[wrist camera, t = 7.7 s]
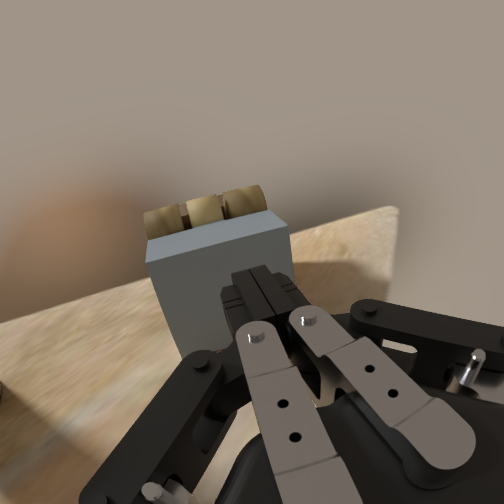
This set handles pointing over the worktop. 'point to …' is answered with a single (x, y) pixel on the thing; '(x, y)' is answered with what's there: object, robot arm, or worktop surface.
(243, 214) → the fixed leaf
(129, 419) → the worktop surface
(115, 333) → the worktop surface
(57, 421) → the worktop surface
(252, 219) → the grey block
